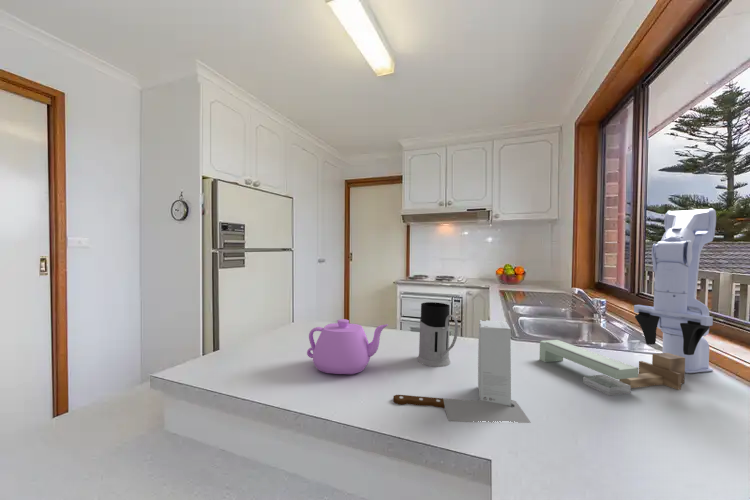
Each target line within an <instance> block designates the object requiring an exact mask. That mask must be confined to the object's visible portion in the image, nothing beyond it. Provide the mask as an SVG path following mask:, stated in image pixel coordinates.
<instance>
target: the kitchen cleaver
mask: <svg viewBox="0 0 750 500" xmlns="http://www.w3.org/2000/svg"><path fill="white" fill-rule="evenodd" d="M392 400H393V401H392V402H393V403H394V404H395V405H399V406H400V405H402V406H403V405H413V406H420V407H428V406H430V407H435V408H440V409H444V411H445V414H446V417H447V420H448V422H456V423H457V422H460V423H477V422H478V421H479V422H480V421H481V422H482V421H486V422H488V421H489V422H491V423H490V424H495V423H494V422H495V421H496V422H497V421H498V422H499V421H501V422H502V421H509V422H510V421H511V422H513V423H512V424H515V423H514V421H515V422H518V423H517V424H531V423H532V422H531V420H530V419H529V418H528V416H527V415H526V413H525V412H524V410H523V409H522V408H521V406H520V405H519V403H518V402H517V401H516V400H514V399H511V407H509V406H507V405H503V404H498V403H493V402H489V401H484V400H480V399H475V400H473V399H459V398H458V399H456V398H443V397H431V396H430V397H429V396H419V395H417V396H416V395H408V394H407V395H406V394H394V395H393V398H392ZM473 421H474V422H473ZM493 421H494V422H493ZM492 422H493V423H492ZM498 424H501V423H500V422H499V423H498Z"/></svg>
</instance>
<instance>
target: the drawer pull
mask: <svg viewBox="0 0 750 500" xmlns="http://www.w3.org/2000/svg"><path fill="white" fill-rule="evenodd" d="M564 359H566V360H569V361H570V362H573V363H575V364H578V365H581V366H583V367H584V368H587V369H590V370H591V371H595V372H598V373H599V374H601V375H606V376H608V377H611V378H613V379H616V380H620V379H626V378H636V377H638V374H639V367H637V366H634V365H632V364H631V365H630V364H628V363H625V362H622V361H619V360H616V359H613V358H611V357H608V356H605V355H603V354H599V353H596V352H594V351H591V350H588V349H584V348H582V347H579V346H576V345H573V344H571V343H568V342H565V341H562V340H559V339H550V340H548V339H547V340H539V360H540V361H542V362H543V363H550V362H562V361H564Z"/></svg>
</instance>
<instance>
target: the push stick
mask: <svg viewBox="0 0 750 500" xmlns="http://www.w3.org/2000/svg"><path fill="white" fill-rule="evenodd" d="M651 357H652V360H651V363H649V362H646V361H643V360H640V361H638V377H636V378H626V379H618V381H620V382H623V383H625V384H628V385H630V386H631V389H636V388H644V387H653V386H654V387H655V386H660V385H663V386H666V387H669V388H671V389H675V390H677V391H680V390H682V384H685V376H686V375H685V374H686V372H685V358H684V357H681V356H677V355H674V354H670V353H661V352H660V353H652V356H651Z"/></svg>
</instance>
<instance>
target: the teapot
mask: <svg viewBox="0 0 750 500" xmlns="http://www.w3.org/2000/svg"><path fill="white" fill-rule="evenodd" d="M336 321H337V322H335V323H333V322H332V323H328V324H327V325H325V326H324V327H322V326H316V327H314V328H312V329H311V330H310V331H309V333H308V340H309V341H308V342H309V343H310V347H309V348H308V349H307V351H306V355H307V357H308V358H310V359H312V363H313V365H314V366H315V367H316V369H317V370H318V371H320V372H322V373H325V374H334V375H335V374H336V375H351V376H353V375H355V374H358V373H361V372H362V371H364V370H365V369H366V367H367V366H368V364H369V362H370V359H371V357H372V356H374V355H375V354H376V353H377V352H378V350H379V345H380V339H381V338H380V337H381V335H382V334H381V333H382V331H383V330H384V329H385V328H386V327H388V325H389V324H387V323H386V324H381V325H378V326H376V328H375V329H374V333H373V338H372V341H371V342H370V343H369V339H368V337H367V335H366V334H367V333H366V332H365V330H364V328H363V326H362V325H361V324H356V323H350V322H349V321H350V320H348V319H346V318H343V319H341V318H340V319H338V320H336ZM315 332H320V334H319V336H318V338H317V340H316V342H315V339H314V333H315ZM311 351H312V352H311Z"/></svg>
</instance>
